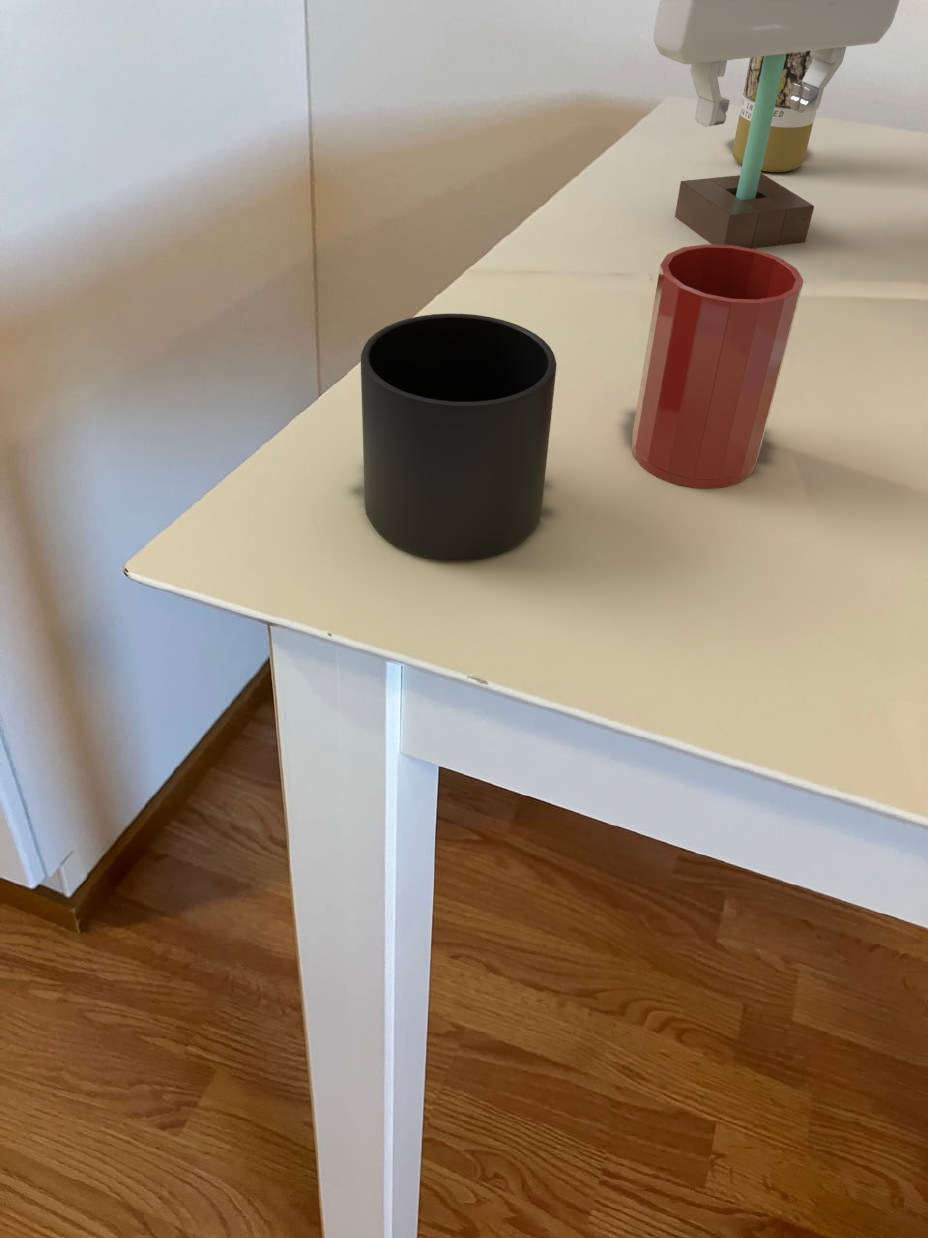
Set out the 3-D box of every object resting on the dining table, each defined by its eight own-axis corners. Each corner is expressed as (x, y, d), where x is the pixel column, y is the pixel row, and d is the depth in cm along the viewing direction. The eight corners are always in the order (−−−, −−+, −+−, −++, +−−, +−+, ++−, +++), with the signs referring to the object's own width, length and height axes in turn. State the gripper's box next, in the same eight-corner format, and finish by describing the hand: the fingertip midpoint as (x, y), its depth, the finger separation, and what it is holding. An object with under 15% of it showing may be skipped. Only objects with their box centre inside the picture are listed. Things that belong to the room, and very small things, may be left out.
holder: (751, 220, 90) (761, 172, 88) (802, 256, 85) (814, 205, 83) (672, 229, 88) (680, 180, 86) (719, 266, 83) (729, 214, 80)
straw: (743, 239, 87) (789, 20, 77) (747, 246, 86) (795, 25, 76) (725, 238, 87) (769, 19, 77) (728, 246, 86) (774, 24, 76)
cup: (741, 423, 65) (784, 246, 58) (768, 490, 60) (818, 304, 53) (624, 419, 65) (652, 241, 58) (640, 486, 60) (673, 299, 52)
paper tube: (789, 180, 98) (866, -153, 82) (720, 164, 101) (781, -162, 85) (812, 160, 103) (890, -160, 86) (745, 145, 105) (808, -168, 89)
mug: (538, 441, 63) (552, 294, 57) (543, 569, 54) (560, 410, 48) (377, 434, 63) (374, 286, 57) (355, 559, 54) (349, 399, 48)
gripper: (717, -91, 65) (676, 145, 74) (944, -100, 73) (882, 114, 83) (653, -108, 69) (621, 119, 78) (875, -114, 77) (823, 91, 87)
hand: (757, 116), depth 80 cm, fingers open, 8 cm apart
